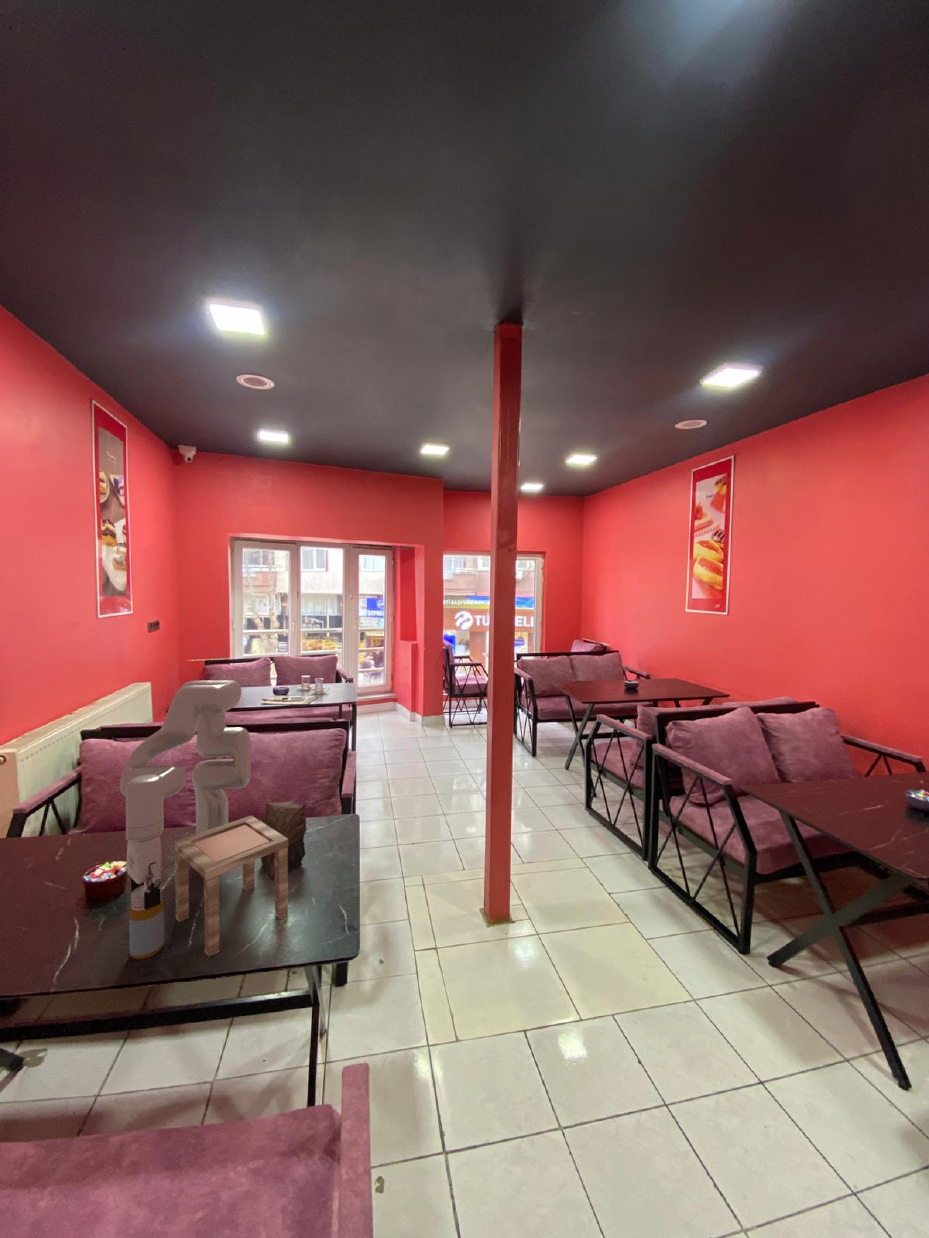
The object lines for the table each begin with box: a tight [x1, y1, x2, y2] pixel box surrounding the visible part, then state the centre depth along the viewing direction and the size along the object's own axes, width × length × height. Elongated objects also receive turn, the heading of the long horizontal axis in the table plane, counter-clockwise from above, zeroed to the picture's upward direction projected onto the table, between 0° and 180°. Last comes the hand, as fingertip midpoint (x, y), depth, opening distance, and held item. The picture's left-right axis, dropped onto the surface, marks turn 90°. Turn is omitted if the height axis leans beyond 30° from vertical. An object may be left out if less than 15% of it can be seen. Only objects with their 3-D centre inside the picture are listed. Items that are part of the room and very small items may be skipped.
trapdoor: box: [193, 825, 269, 863], centre depth 128 cm, size 14×14×1 cm
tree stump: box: [260, 800, 307, 882], centre depth 153 cm, size 13×13×20 cm
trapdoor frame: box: [173, 815, 289, 957], centre depth 128 cm, size 21×21×21 cm
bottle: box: [128, 882, 165, 960], centre depth 116 cm, size 7×7×15 cm
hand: (145, 898), depth 115 cm, fingers open, 9 cm apart
